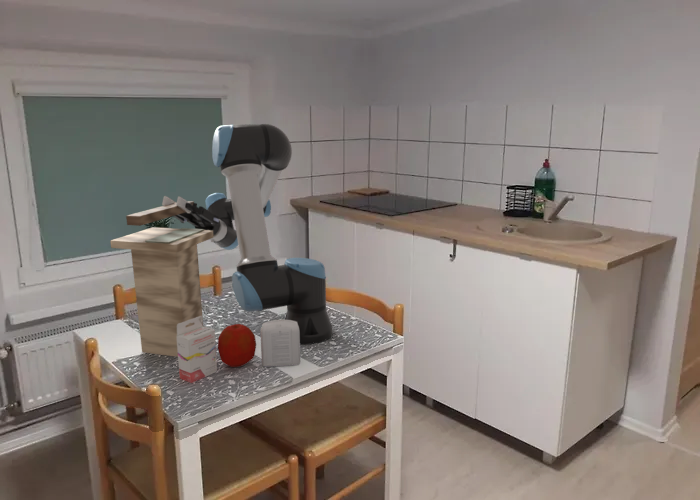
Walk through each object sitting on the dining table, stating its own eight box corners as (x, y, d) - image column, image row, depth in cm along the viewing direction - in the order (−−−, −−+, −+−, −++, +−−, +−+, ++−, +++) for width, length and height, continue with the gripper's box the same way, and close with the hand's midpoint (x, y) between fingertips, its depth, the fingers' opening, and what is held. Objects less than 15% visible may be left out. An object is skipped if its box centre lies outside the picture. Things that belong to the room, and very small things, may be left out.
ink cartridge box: (192, 384, 139) (187, 328, 136) (179, 379, 142) (174, 324, 139) (218, 371, 146) (214, 318, 143) (205, 366, 149) (201, 314, 145)
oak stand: (162, 332, 172) (152, 226, 164) (220, 339, 167) (212, 229, 159) (123, 356, 156) (110, 239, 148) (186, 365, 150) (176, 243, 142)
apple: (244, 374, 144) (241, 332, 141) (210, 369, 147) (207, 327, 145) (263, 359, 153) (261, 319, 150) (232, 353, 157) (229, 314, 154)
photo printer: (300, 359, 153) (298, 316, 150) (301, 365, 149) (299, 321, 146) (261, 361, 151) (259, 318, 148) (261, 368, 147) (259, 324, 144)
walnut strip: (183, 209, 172) (182, 200, 171) (194, 209, 170) (194, 201, 170) (127, 225, 147) (126, 215, 147) (140, 225, 146) (139, 216, 146)
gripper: (231, 239, 180) (194, 213, 159) (185, 236, 185) (142, 211, 163) (236, 217, 182) (199, 189, 161) (190, 215, 187) (148, 187, 165)
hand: (171, 200), depth 162 cm, fingers closed on walnut strip, 4 cm apart
